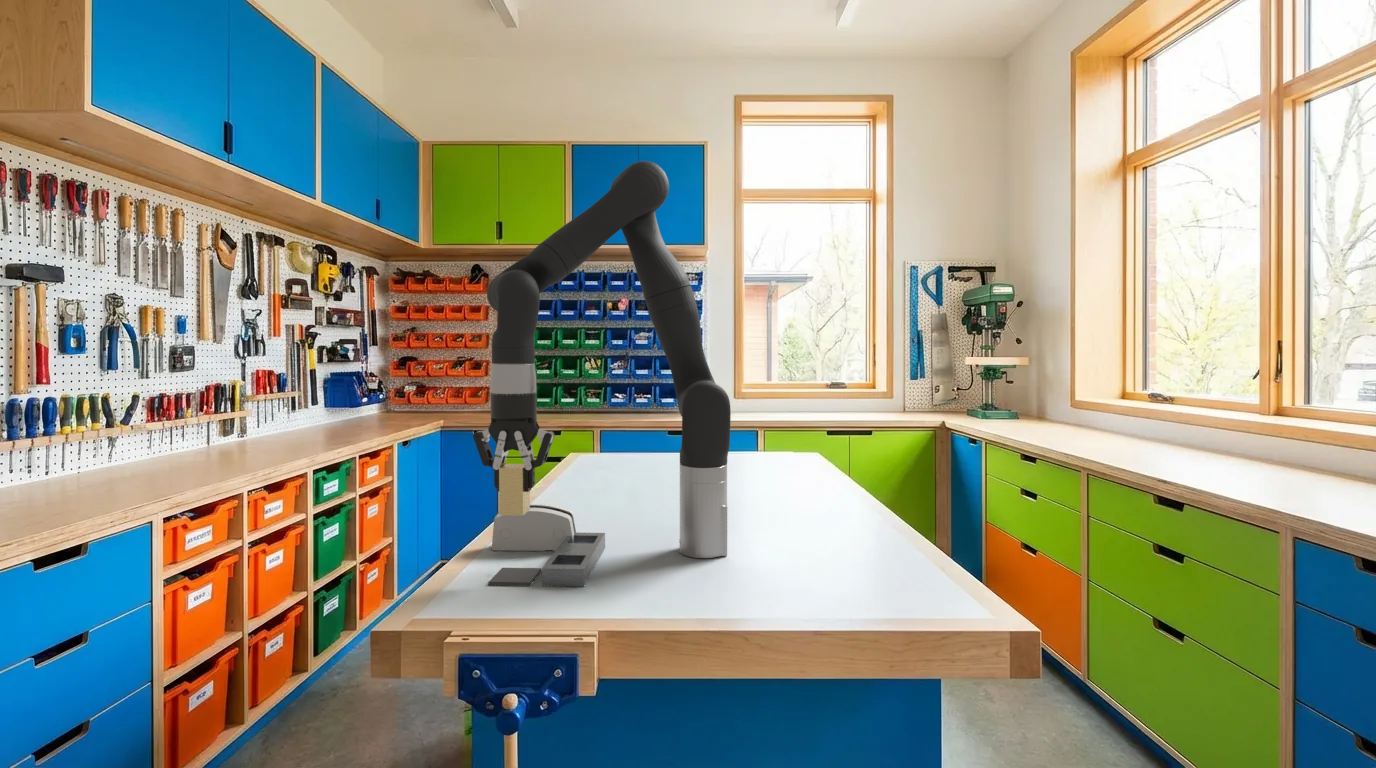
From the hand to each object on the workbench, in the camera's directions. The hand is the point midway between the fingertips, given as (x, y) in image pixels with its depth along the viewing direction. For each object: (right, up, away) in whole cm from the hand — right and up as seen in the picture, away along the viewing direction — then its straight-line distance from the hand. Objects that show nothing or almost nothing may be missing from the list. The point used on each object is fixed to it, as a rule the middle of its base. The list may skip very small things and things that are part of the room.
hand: (514, 490), depth 109 cm
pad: (0, -15, +1) cm, 15 cm away
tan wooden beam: (0, -4, 0) cm, 4 cm away
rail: (+9, -15, +7) cm, 19 cm away
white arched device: (-1, -15, +17) cm, 22 cm away
